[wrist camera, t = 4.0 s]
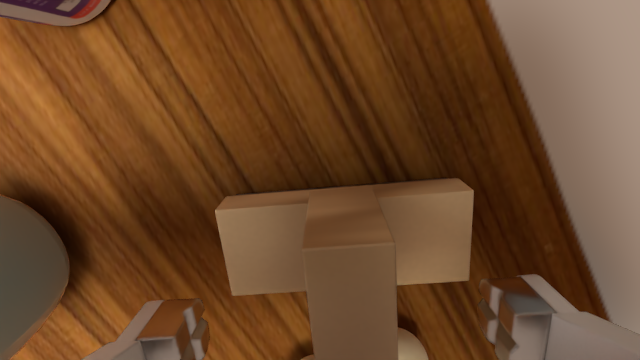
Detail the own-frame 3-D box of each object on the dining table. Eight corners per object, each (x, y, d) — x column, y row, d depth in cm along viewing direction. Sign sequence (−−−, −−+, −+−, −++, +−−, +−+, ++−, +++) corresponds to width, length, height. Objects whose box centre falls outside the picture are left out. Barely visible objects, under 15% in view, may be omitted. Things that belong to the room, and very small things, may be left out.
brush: (451, 161, 14) (553, 232, 8) (448, 260, 16) (531, 387, 9) (229, 179, 15) (154, 259, 8) (246, 273, 16) (194, 403, 10)
